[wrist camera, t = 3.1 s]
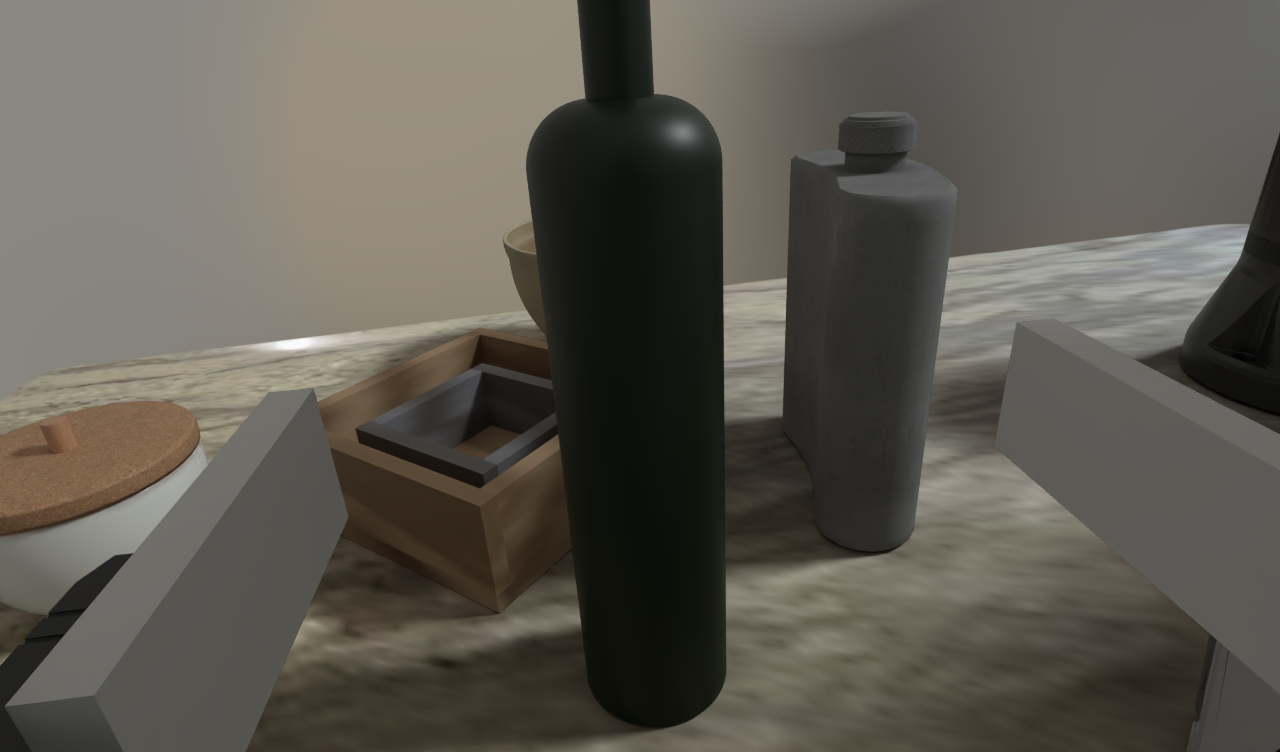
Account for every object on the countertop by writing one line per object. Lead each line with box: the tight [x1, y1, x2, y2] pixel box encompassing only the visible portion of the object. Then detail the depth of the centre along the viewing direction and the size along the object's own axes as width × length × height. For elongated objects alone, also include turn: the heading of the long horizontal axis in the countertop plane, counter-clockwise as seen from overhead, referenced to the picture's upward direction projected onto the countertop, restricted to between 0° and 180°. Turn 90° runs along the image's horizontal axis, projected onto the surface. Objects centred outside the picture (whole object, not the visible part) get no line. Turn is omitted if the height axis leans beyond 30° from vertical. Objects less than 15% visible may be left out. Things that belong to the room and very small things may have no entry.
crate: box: [317, 328, 572, 613], centre depth 42 cm, size 16×16×6 cm
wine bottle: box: [526, 0, 726, 726], centre depth 23 cm, size 6×6×30 cm
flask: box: [783, 112, 958, 552], centre depth 38 cm, size 15×6×20 cm, turn 179°
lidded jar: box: [0, 401, 208, 616], centre depth 35 cm, size 11×11×9 cm
